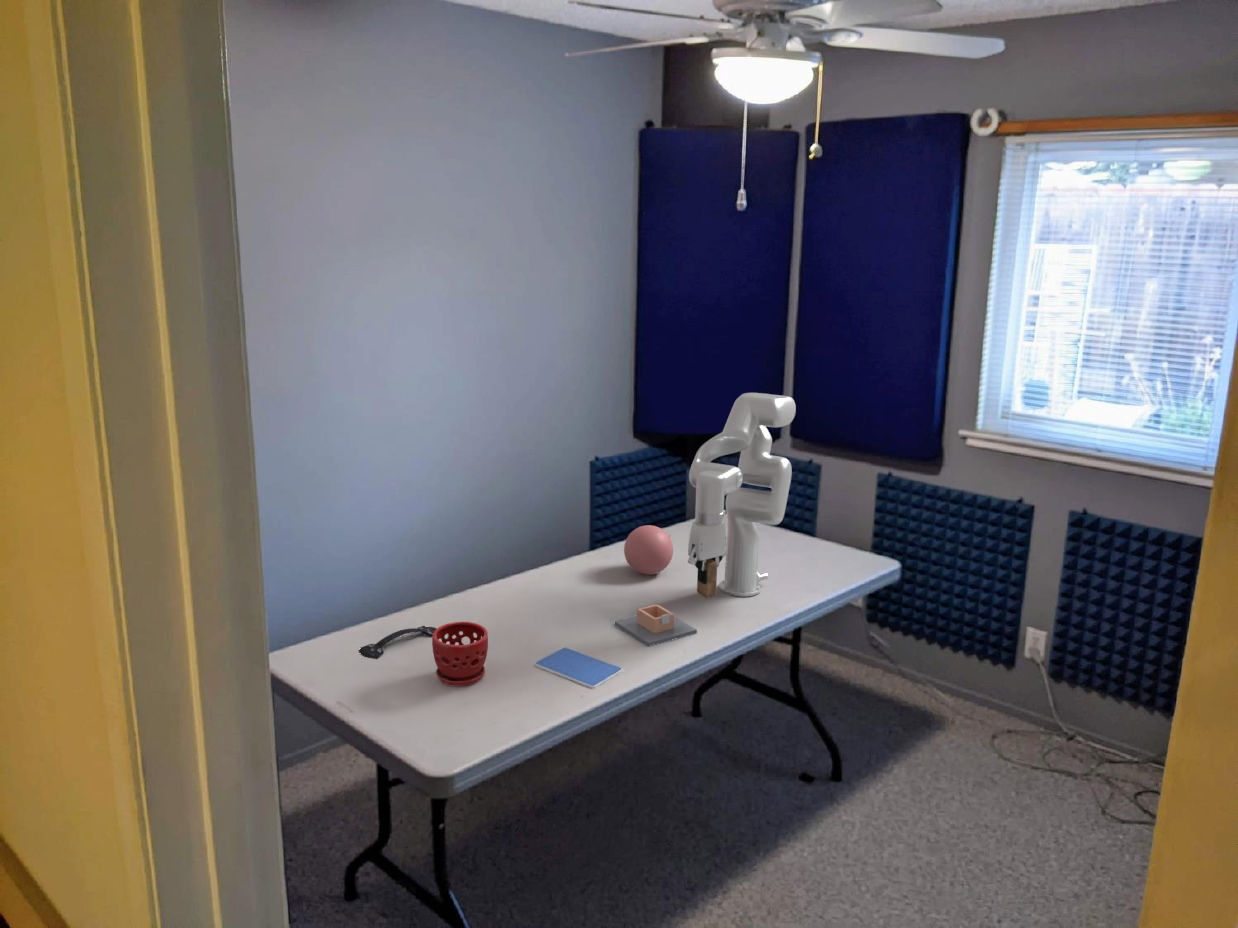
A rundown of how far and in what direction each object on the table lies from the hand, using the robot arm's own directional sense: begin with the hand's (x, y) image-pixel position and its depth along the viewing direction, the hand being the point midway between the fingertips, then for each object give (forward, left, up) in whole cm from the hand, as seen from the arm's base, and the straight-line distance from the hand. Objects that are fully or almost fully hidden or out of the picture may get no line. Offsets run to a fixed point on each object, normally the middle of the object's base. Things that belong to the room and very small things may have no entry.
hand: (706, 580), depth 257 cm
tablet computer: (+43, +3, -14) cm, 45 cm away
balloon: (-12, -42, -14) cm, 45 cm away
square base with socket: (+13, -6, -13) cm, 19 cm away
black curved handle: (+74, -33, -14) cm, 83 cm away
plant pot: (+70, -7, -14) cm, 71 cm away
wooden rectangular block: (0, 0, -4) cm, 4 cm away
